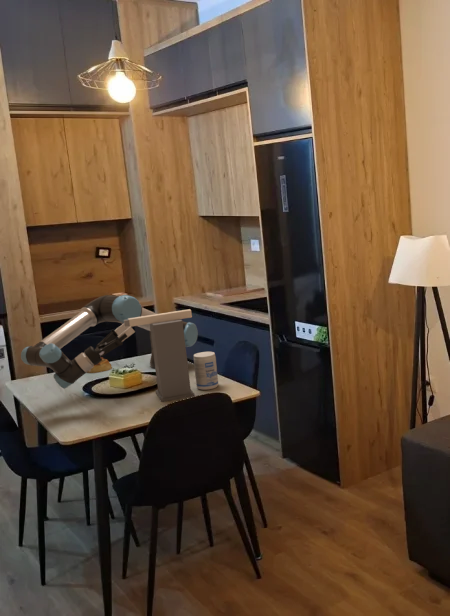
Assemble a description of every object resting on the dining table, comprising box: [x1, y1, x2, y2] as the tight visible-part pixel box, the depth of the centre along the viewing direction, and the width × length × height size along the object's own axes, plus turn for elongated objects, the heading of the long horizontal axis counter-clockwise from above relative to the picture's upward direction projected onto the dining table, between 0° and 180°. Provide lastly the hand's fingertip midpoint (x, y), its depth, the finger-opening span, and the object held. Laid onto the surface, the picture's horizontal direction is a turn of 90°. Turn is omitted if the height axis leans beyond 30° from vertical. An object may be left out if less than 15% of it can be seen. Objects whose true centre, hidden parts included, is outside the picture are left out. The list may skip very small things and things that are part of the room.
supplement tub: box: [193, 351, 219, 391], centre depth 278 cm, size 10×10×15 cm
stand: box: [150, 319, 195, 403], centre depth 271 cm, size 14×14×32 cm
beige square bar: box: [124, 308, 193, 328], centre depth 268 cm, size 3×28×3 cm, turn 105°
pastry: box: [86, 356, 113, 374], centre depth 329 cm, size 13×15×8 cm
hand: (130, 326), depth 265 cm, fingers open, 13 cm apart
